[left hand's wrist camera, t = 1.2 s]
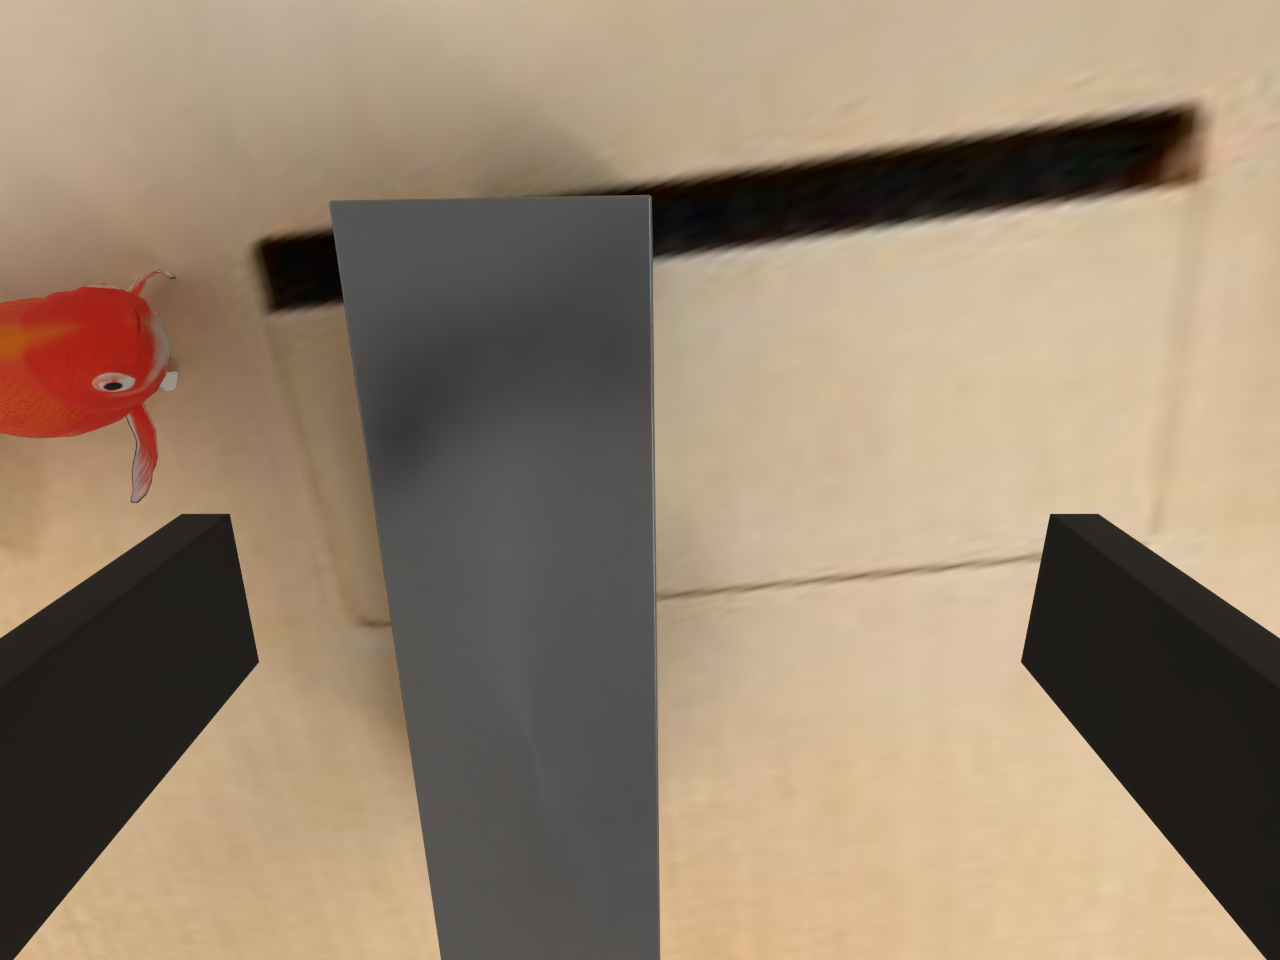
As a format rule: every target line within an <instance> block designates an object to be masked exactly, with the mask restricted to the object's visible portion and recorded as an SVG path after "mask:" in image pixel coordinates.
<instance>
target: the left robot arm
mask: <svg viewBox="0 0 1280 960" xmlns="http://www.w3.org/2000/svg"><path fill="white" fill-rule="evenodd" d="M258 663H259V660H258V655H257V650H256V645H255V639H254V634H253V629H252V624H251V619H250V614H249V609H248V604H247V599H246V594H245V589H244V584H243V579H242V574H241V569H240V564H239V559H238V553H237V548H236V543H235V538H234V533H233V528H232V523H231V518H230V514H181V515H180V516H178V517H177V518H175V519H174V520H172V521H171V522H169V523H168V524H167V525H165V526H164V527H162V528H161V529H159V530H158V531H156V532H155V533H153V534H152V535H150V536H149V537H148V538H146V539H145V540H143V541H142V542H140V543H139V544H137V545H136V546H134V547H133V548H131V549H130V550H129V551H127V552H126V553H124V554H123V555H121V556H120V557H118V558H117V559H115V560H114V561H113V562H111V563H110V564H108V565H107V566H105V567H104V568H102V569H101V570H99V571H98V572H96V573H95V574H94V575H92V576H91V577H89V578H88V579H86V580H85V581H83V582H82V583H80V584H79V585H77V586H76V587H75V588H73V589H72V590H70V591H69V592H67V593H66V594H64V595H63V596H61V597H60V598H59V599H57V600H56V601H54V602H53V603H51V604H50V605H48V606H47V607H45V608H44V609H42V610H41V611H40V612H38V613H37V614H35V615H34V616H32V617H31V618H29V619H28V620H26V621H25V622H23V623H22V624H21V625H19V626H18V627H16V628H15V629H13V630H12V631H10V632H9V633H7V634H6V635H5V636H3V637H2V638H0V960H14V958H15V957H16V956H17V955H18V954H19V952H20V951H21V950H22V949H23V947H24V946H25V945H26V944H27V943H28V941H29V940H30V939H31V938H32V937H33V935H34V934H35V933H36V932H37V930H38V929H39V928H40V927H41V926H42V924H43V923H44V922H45V921H46V920H47V918H48V917H49V916H50V915H51V914H52V912H53V911H54V910H55V909H56V907H57V906H58V905H59V904H60V903H61V901H62V900H63V899H64V898H65V897H66V895H67V894H68V893H69V892H70V890H71V889H72V888H73V887H74V886H75V884H76V883H77V882H78V881H79V880H80V878H81V877H82V876H83V875H84V874H85V872H86V871H87V870H88V869H89V867H90V866H91V865H92V864H93V863H94V861H95V860H96V859H97V858H98V857H99V855H100V854H101V853H102V852H103V850H104V849H105V848H106V847H107V846H108V844H109V843H110V842H111V841H112V840H113V838H114V837H115V836H116V835H117V833H118V832H119V831H120V830H121V829H122V827H123V826H124V825H125V824H126V823H127V821H128V820H129V819H130V818H131V817H132V815H133V814H134V813H135V812H136V810H137V809H138V808H139V807H140V806H141V804H142V803H143V802H144V801H145V800H146V798H147V797H148V796H149V795H150V793H151V792H152V791H153V790H154V789H155V787H156V786H157V785H158V784H159V783H160V781H161V780H162V779H163V778H164V777H165V775H166V774H167V773H168V772H169V770H170V769H171V768H172V767H173V766H174V764H175V763H176V762H177V761H178V760H179V758H180V757H181V756H182V755H183V753H184V752H185V751H186V750H187V749H188V747H189V746H190V745H191V744H192V743H193V741H194V740H195V739H196V738H197V737H198V735H199V734H200V733H201V732H202V730H203V729H204V728H205V727H206V726H207V724H208V723H209V722H210V721H211V720H212V718H213V717H214V716H215V715H216V713H217V712H218V711H219V710H220V709H221V707H222V706H223V705H224V704H225V703H226V701H227V700H228V699H229V698H230V697H231V695H232V694H233V693H234V692H235V690H236V689H237V688H238V687H239V686H240V684H241V683H242V682H243V681H244V680H245V678H246V677H247V676H248V675H249V673H250V672H251V671H252V670H253V669H254V667H255V666H256V665H257V664H258ZM1021 663H1022V664H1023V665H1024V666H1025V667H1026V669H1027V670H1028V671H1029V672H1030V673H1031V675H1032V676H1033V677H1034V678H1035V680H1036V681H1037V682H1038V683H1039V684H1040V686H1041V687H1042V688H1043V689H1044V690H1045V692H1046V693H1047V694H1048V695H1049V697H1050V698H1051V699H1052V700H1053V701H1054V703H1055V704H1056V705H1057V706H1058V707H1059V709H1060V710H1061V711H1062V712H1063V713H1064V715H1065V716H1066V717H1067V718H1068V720H1069V721H1070V722H1071V723H1072V724H1073V726H1074V727H1075V728H1076V729H1077V730H1078V732H1079V733H1080V734H1081V735H1082V737H1083V738H1084V739H1085V740H1086V741H1087V743H1088V744H1089V745H1090V746H1091V747H1092V749H1093V750H1094V751H1095V752H1096V753H1097V755H1098V756H1099V757H1100V758H1101V760H1102V761H1103V762H1104V763H1105V764H1106V766H1107V767H1108V768H1109V769H1110V770H1111V772H1112V773H1113V774H1114V775H1115V777H1116V778H1117V779H1118V780H1119V781H1120V783H1121V784H1122V785H1123V786H1124V787H1125V789H1126V790H1127V791H1128V792H1129V794H1130V795H1131V796H1132V797H1133V798H1134V800H1135V801H1136V802H1137V803H1138V804H1139V806H1140V807H1141V808H1142V809H1143V810H1144V812H1145V813H1146V814H1147V815H1148V817H1149V818H1150V819H1151V820H1152V821H1153V823H1154V824H1155V825H1156V826H1157V827H1158V829H1159V830H1160V831H1161V832H1162V834H1163V835H1164V836H1165V837H1166V838H1167V840H1168V841H1169V842H1170V843H1171V844H1172V846H1173V847H1174V848H1175V849H1176V850H1177V852H1178V853H1179V854H1180V855H1181V857H1182V858H1183V859H1184V860H1185V861H1186V863H1187V864H1188V865H1189V866H1190V867H1191V869H1192V870H1193V871H1194V872H1195V874H1196V875H1197V876H1198V877H1199V878H1200V880H1201V881H1202V882H1203V883H1204V884H1205V886H1206V887H1207V888H1208V889H1209V890H1210V892H1211V893H1212V894H1213V895H1214V897H1215V898H1216V899H1217V900H1218V901H1219V903H1220V904H1221V905H1222V906H1223V907H1224V909H1225V910H1226V911H1227V912H1228V914H1229V915H1230V916H1231V917H1232V918H1233V920H1234V921H1235V922H1236V923H1237V924H1238V926H1239V927H1240V928H1241V929H1242V930H1243V932H1244V933H1245V934H1246V935H1247V937H1248V938H1249V939H1250V940H1251V941H1252V943H1253V944H1254V945H1255V946H1256V947H1257V949H1258V950H1259V951H1260V952H1261V954H1262V955H1263V956H1264V957H1265V958H1266V960H1280V638H1278V637H1277V636H1275V635H1274V634H1273V633H1271V632H1270V631H1268V630H1267V629H1265V628H1264V627H1262V626H1261V625H1259V624H1258V623H1257V622H1255V621H1254V620H1252V619H1251V618H1249V617H1248V616H1246V615H1245V614H1243V613H1242V612H1240V611H1239V610H1238V609H1236V608H1235V607H1233V606H1232V605H1230V604H1229V603H1227V602H1226V601H1224V600H1223V599H1221V598H1220V597H1219V596H1217V595H1216V594H1214V593H1213V592H1211V591H1210V590H1208V589H1207V588H1205V587H1204V586H1202V585H1201V584H1200V583H1198V582H1197V581H1195V580H1194V579H1192V578H1191V577H1189V576H1188V575H1186V574H1185V573H1184V572H1182V571H1181V570H1179V569H1178V568H1176V567H1175V566H1173V565H1172V564H1170V563H1169V562H1167V561H1166V560H1165V559H1163V558H1162V557H1160V556H1159V555H1157V554H1156V553H1154V552H1153V551H1151V550H1150V549H1148V548H1147V547H1146V546H1144V545H1143V544H1141V543H1140V542H1138V541H1137V540H1135V539H1134V538H1132V537H1131V536H1130V535H1128V534H1127V533H1125V532H1124V531H1122V530H1121V529H1119V528H1118V527H1116V526H1115V525H1113V524H1112V523H1111V522H1109V521H1108V520H1106V519H1105V518H1103V517H1102V516H1100V515H1099V514H1050V518H1049V523H1048V528H1047V533H1046V538H1045V543H1044V548H1043V553H1042V559H1041V564H1040V569H1039V574H1038V579H1037V584H1036V589H1035V594H1034V599H1033V604H1032V609H1031V614H1030V619H1029V624H1028V629H1027V634H1026V639H1025V645H1024V650H1023V655H1022V660H1021Z"/></svg>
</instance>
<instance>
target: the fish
mask: <svg viewBox="0 0 1280 960" xmlns="http://www.w3.org/2000/svg"><path fill="white" fill-rule="evenodd" d="M157 273H163V274H165V275H166V276H168V277H169V278H171V279H173V278H176V277H175V276H174V275H173V274H171V273H170V272H169V271H168V270H167V269H162V270H158V271H154V272H151V273H149V274H147V275H146V276H144V277H142V278H140V279H138V280H137V281H136V282H135V283H133V284H132V285H131V286H130V287H129V288H127V289H126V290H125V291H124V290H121V289H119V288H117V287H114V286H112V285H109V284H101V283H93V284H88V285H86V286H83V287H81V288H79V289H77V290H73V291H69V292H57V293H54V294H51V295H49V296H48V297H46V298H30V299H23V300H17V301H10V302H5V303H0V433H5V434H10V435H15V436H21V437H30V438H52V437H69V436H76V435H80V434H84V433H87V432H90V431H93V430H95V429H98V428H101V427H104V426H107V425H110V424H112V423H115V422H117V421H119V420H121V419H122V418H124V417H125V416H126V418H127V420H128V423H129V425H130V427H131V429H132V431H133V433H134V436H135V438H136V451H135V457H134V461H133V468H132V483H133V492H132V496H131V502H132V503H138V502H139V501H140V500H141V499H142V498H143V497H144V496H145V495H146V494H147V492H148V490H149V487H150V485H151V482H152V475H153V471H154V469H155V467H156V463H157V459H158V449H157V440H156V430H155V428H154V425H153V423H152V421H151V419H150V416H149V414H148V412H147V410H146V408H145V405H144V403H143V402H144V401H145V400H146V399H147V398H148V397H150V396H151V395H152V394H153V393H155V392H156V391H157V390H158V388H160V389H161V390H163V391H166V392H168V391H173V390H175V388H176V385H177V379H178V372H177V371H171V372H167V368H168V360H169V341H168V338H167V335H166V332H165V329H164V326H163V323H162V320H161V318H160V317H159V315H158V314H157V313H156V311H155V310H154V309H153V308H152V306H151V305H150V304H149V303H148V302H147V301H146V300H144V299H142V298H140V297H139V295H140V293H141V292H142V290H143V288H144V286H145V284H146V282H147V279H148V278H149V277H151V276H153V275H154V274H157Z"/></svg>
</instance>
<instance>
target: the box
mask: <svg viewBox="0 0 1280 960" xmlns="http://www.w3.org/2000/svg"><path fill="white" fill-rule="evenodd" d="M329 205H330V211H331V218H332V225H333V232H334V239H335V245H336V252H337V259H338V266H339V272H340V279H341V286H342V293H343V299H344V306H345V313H346V320H347V326H348V333H349V340H350V347H351V353H352V360H353V367H354V374H355V380H356V387H357V394H358V401H359V407H360V414H361V421H362V428H363V434H364V441H365V448H366V455H367V462H368V468H369V475H370V482H371V489H372V495H373V502H374V509H375V516H376V522H377V529H378V536H379V543H380V549H381V556H382V563H383V570H384V576H385V583H386V590H387V597H388V603H389V610H390V617H391V624H392V630H393V637H394V644H395V651H396V657H397V664H398V671H399V678H400V684H401V691H402V698H403V705H404V712H405V718H406V725H407V732H408V739H409V745H410V752H411V759H412V766H413V772H414V779H415V786H416V793H417V799H418V806H419V813H420V820H421V826H422V833H423V840H424V847H425V853H426V860H427V867H428V874H429V880H430V887H431V894H432V901H433V907H434V914H435V921H436V928H437V935H438V941H439V948H440V955H441V960H660V900H659V807H658V715H657V622H656V530H655V438H654V345H653V253H652V197H651V196H650V195H627V196H572V197H517V198H461V199H406V200H350V201H331V202H330V204H329Z"/></svg>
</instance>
